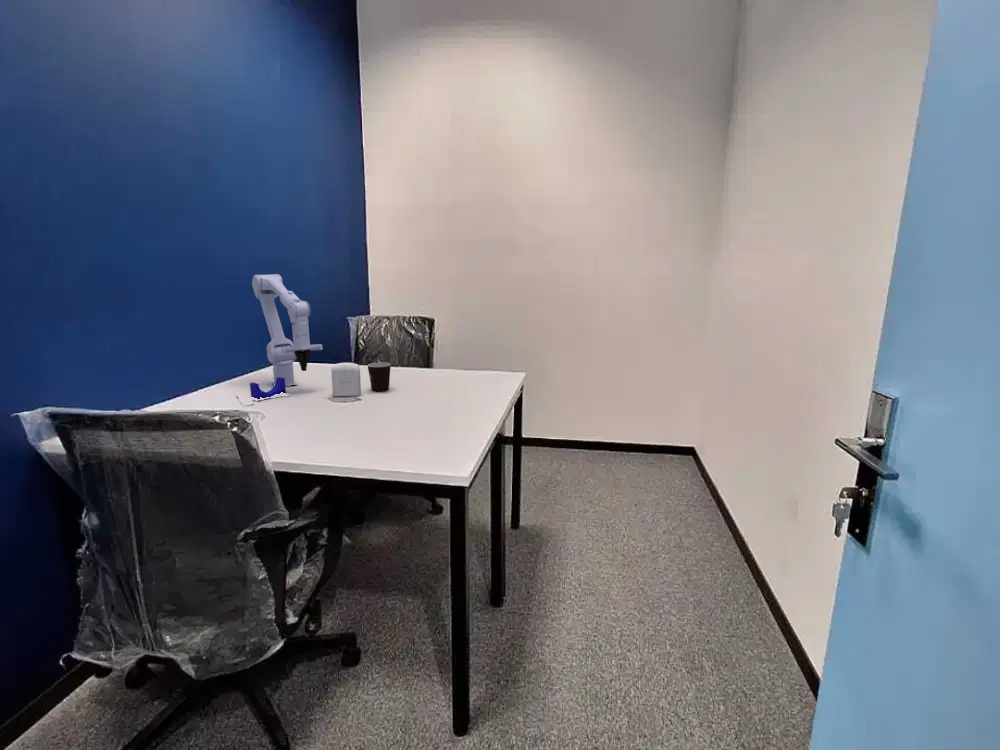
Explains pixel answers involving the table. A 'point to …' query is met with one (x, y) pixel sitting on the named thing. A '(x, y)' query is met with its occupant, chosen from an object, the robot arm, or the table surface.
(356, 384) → the photo printer
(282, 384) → the cable clip
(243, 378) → the table surface
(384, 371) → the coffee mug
